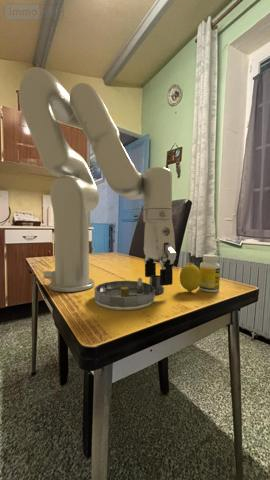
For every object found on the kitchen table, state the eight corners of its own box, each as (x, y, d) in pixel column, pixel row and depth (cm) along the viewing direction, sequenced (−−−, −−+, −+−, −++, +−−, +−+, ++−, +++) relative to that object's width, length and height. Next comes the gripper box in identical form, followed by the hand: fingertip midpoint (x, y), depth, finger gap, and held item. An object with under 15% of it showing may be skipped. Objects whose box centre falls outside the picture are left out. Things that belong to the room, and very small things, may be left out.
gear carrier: (85, 308, 46) (85, 285, 46) (105, 289, 60) (105, 271, 60) (151, 313, 44) (151, 288, 44) (156, 292, 58) (156, 274, 58)
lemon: (203, 295, 56) (204, 264, 55) (181, 295, 56) (182, 264, 55) (197, 289, 61) (198, 261, 61) (177, 289, 61) (178, 261, 61)
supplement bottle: (217, 293, 57) (219, 257, 57) (197, 290, 60) (198, 255, 59) (220, 288, 62) (221, 254, 61) (201, 286, 65) (202, 253, 64)
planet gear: (152, 294, 56) (152, 278, 56) (146, 290, 60) (146, 275, 59) (166, 293, 57) (166, 277, 57) (159, 289, 61) (159, 274, 61)
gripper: (188, 214, 50) (187, 287, 51) (156, 218, 67) (156, 273, 68) (159, 214, 48) (159, 290, 49) (133, 218, 64) (133, 275, 65)
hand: (157, 280), depth 58 cm, fingers open, 9 cm apart
